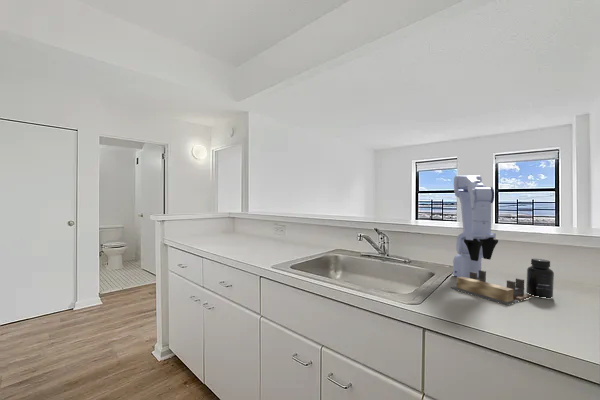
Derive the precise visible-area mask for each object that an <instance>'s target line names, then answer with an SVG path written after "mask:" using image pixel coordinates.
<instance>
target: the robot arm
mask: <svg viewBox="0 0 600 400" xmlns="http://www.w3.org/2000/svg"><path fill="white" fill-rule="evenodd" d="M453 190H454V191H453V192H454V196H455V197H457V198H458V199H459V201H460V208H461V209H460V210H461V220H462V221H461V222H462V230H463V231H462V232H461V233H460V234H458V235H457V237H456V245H455V247H456V253H457V254H456V255H455V256H454V257H453V261H452V262H453V263H452V264H453V265H452V267H453V269H452V270H453V271H452V275H454V276H457V277H467V278H470V272H475V273H477V277H479V270H482V259H484V260H491V259H492V256H493V252H494V249H495V248H496V245H498V243H499V239H496V233H493V232H492V204H493V203H494V201H495V189H494V188H493V186H489V187H487V186H486V185H485V183H483V180H482V176H481V175H480V174H477V175H473V174H472V175H459V174H458V175H457V174H456V175H455V176H454V178H453ZM454 276H453V277H454ZM457 277H456V278H457Z"/></svg>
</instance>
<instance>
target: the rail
mask: <svg viewBox="0 0 600 400" xmlns="http://www.w3.org/2000/svg"><path fill="white" fill-rule="evenodd" d="M456 286H457V288H460V289H464V290H467V291H471V292H474V293H477V294H481V295H484V296H488V297H491V298H495V299H498V300H501V301H505V302H509V301H513V289H511V288H507V286H503V285H498V284H495V283H491V282H487V281H486V282H483V281H479V280H475V279H471V278H467V277H456Z"/></svg>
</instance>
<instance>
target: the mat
mask: <svg viewBox="0 0 600 400" xmlns="http://www.w3.org/2000/svg"><path fill="white" fill-rule="evenodd" d="M451 288H452V289H451ZM450 289H451V290H455V291H458V290H459V292H461V291H462V293H465V292H466V293H465V294H468V293H469V294H468V295H471V294H472V296H474V295H476V296H475V297H478V296H479V298H481V297H482V299H484V298H485V300H488V299H489V300H488V301H491V300H492V301H491V302H494V301H495V303H498V302H499V303H498V304H501V303H502V305H504V304H505V306H509V304H510V305H513V304H512V303H514V304H516V303H515V302H517V303H519V302H520V301H519V300H516V299H513V301H509V302H505V301H501V300H498V299H495V298H491V297H488V296H484V295H481V294H477V293H474V292H471V291H467V290H464V289H460V288H457V285H455V286H450ZM518 301H519V302H518Z"/></svg>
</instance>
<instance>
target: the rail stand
mask: <svg viewBox="0 0 600 400" xmlns="http://www.w3.org/2000/svg"><path fill="white" fill-rule="evenodd" d="M486 276H487V271H486V270H482V269H481V270H479V277H477V273H475V272H470V278H471V279H475V280H479V281H483V282H487V277H486ZM506 287H507V288H511V289H513V299H516V300H519V302H520V301H521V300H524V299H526V298H529V297H532V298H533V296H532V295H528V294H527V293H525V279H522V278H515V281H514V280H509V279H508V280H506ZM524 301H525V300H524ZM521 302H522V301H521Z"/></svg>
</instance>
